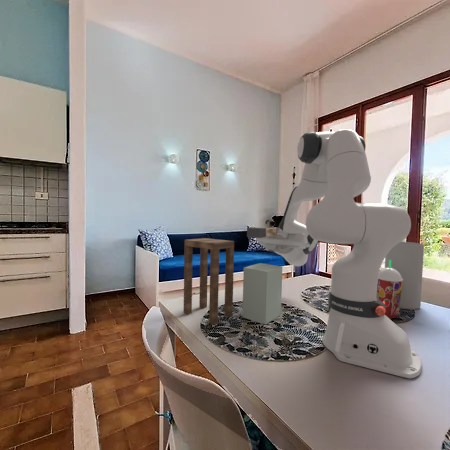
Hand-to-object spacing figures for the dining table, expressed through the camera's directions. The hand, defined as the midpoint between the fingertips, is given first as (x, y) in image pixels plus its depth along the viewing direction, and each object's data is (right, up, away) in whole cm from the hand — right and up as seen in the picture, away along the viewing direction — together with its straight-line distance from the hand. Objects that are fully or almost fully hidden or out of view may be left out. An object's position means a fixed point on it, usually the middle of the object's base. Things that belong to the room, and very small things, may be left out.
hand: (273, 230), depth 96 cm
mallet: (-4, -2, -4) cm, 6 cm away
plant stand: (-24, -29, -6) cm, 38 cm away
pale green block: (-5, -30, -6) cm, 31 cm away
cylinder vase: (+53, -31, +8) cm, 62 cm away
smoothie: (+40, -31, -3) cm, 51 cm away
